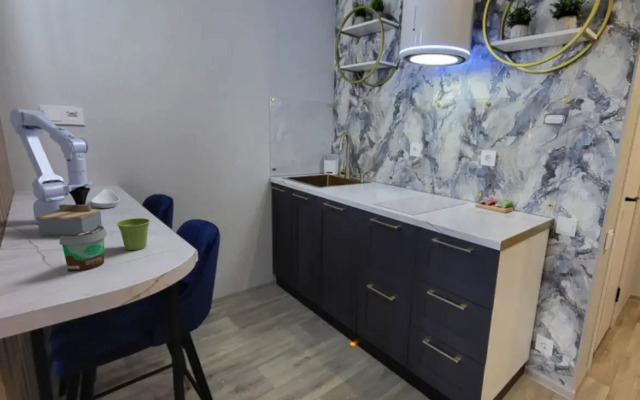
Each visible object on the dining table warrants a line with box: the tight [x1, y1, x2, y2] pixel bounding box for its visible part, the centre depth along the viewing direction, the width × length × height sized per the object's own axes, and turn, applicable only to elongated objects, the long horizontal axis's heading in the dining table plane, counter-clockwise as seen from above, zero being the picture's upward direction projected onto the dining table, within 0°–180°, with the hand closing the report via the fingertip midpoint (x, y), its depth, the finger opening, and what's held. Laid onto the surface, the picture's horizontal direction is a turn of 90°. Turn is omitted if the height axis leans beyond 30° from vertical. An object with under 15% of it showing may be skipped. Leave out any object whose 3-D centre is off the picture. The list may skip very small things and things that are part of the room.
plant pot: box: [116, 217, 151, 251], centre depth 107 cm, size 9×9×9 cm
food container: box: [59, 225, 108, 272], centre depth 92 cm, size 12×6×10 cm, turn 168°
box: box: [37, 211, 103, 237], centre depth 121 cm, size 14×12×6 cm
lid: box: [38, 204, 101, 220], centre depth 120 cm, size 14×12×3 cm
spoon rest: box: [90, 188, 121, 209], centre depth 164 cm, size 24×12×7 cm, turn 29°
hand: (81, 207), depth 127 cm, fingers closed
